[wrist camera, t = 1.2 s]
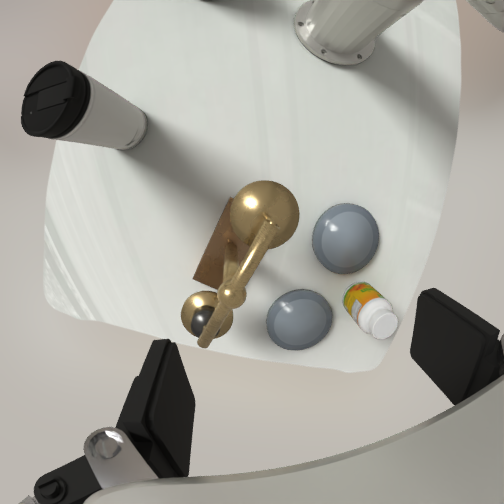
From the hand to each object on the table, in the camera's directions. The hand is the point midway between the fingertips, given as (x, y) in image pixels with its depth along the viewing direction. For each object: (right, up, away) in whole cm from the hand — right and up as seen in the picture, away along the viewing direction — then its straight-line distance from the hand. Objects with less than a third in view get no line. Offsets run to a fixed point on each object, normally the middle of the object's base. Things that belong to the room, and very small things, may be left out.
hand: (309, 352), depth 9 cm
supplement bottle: (+14, -3, +32) cm, 36 cm away
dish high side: (+11, +6, +29) cm, 32 cm away
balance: (-5, +4, +28) cm, 29 cm away
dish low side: (+5, -7, +32) cm, 33 cm away
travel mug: (-19, +20, +23) cm, 36 cm away
